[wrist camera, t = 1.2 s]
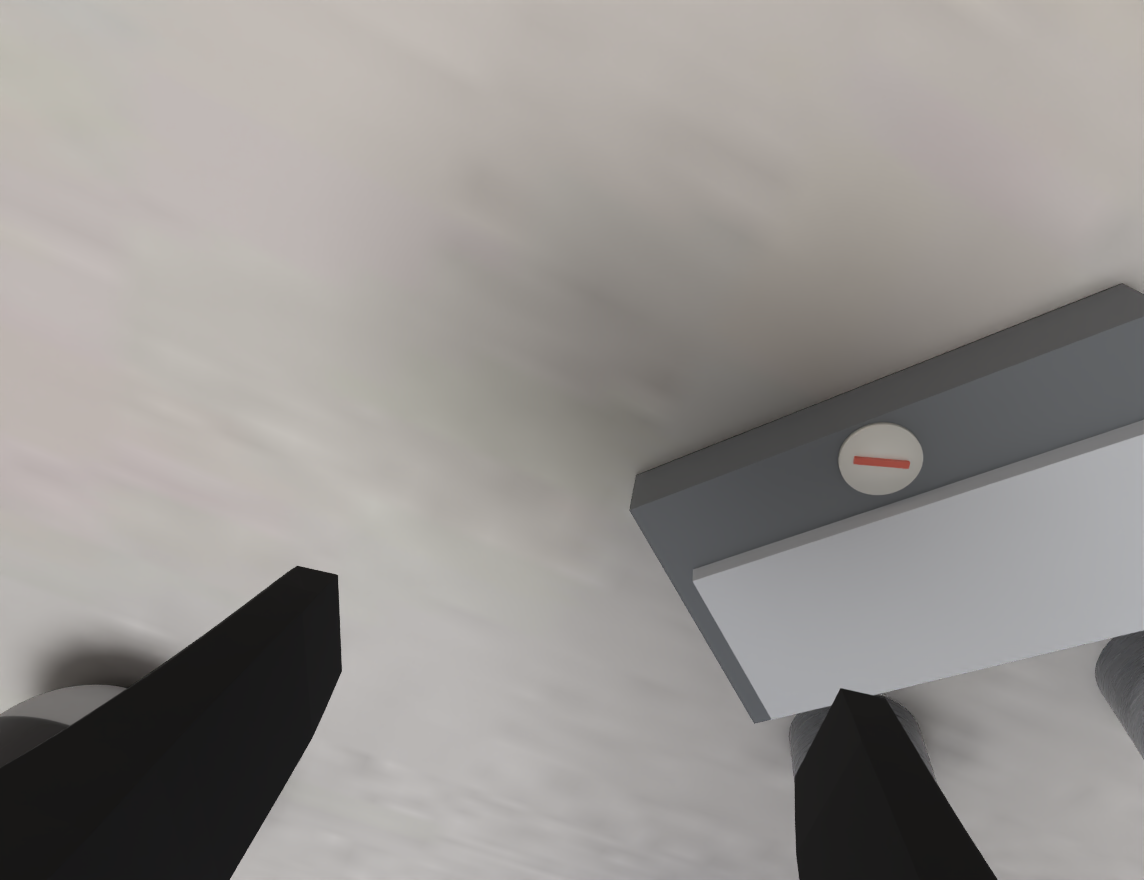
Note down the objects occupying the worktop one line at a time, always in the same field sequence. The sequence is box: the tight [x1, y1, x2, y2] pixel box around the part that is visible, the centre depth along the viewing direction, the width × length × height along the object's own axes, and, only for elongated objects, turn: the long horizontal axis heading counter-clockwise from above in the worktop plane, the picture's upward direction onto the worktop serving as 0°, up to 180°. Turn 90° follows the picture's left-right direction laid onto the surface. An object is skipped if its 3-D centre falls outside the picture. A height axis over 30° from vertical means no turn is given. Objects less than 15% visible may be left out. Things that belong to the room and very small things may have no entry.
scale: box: [630, 284, 1144, 723], centre depth 18 cm, size 8×12×2 cm, turn 119°
